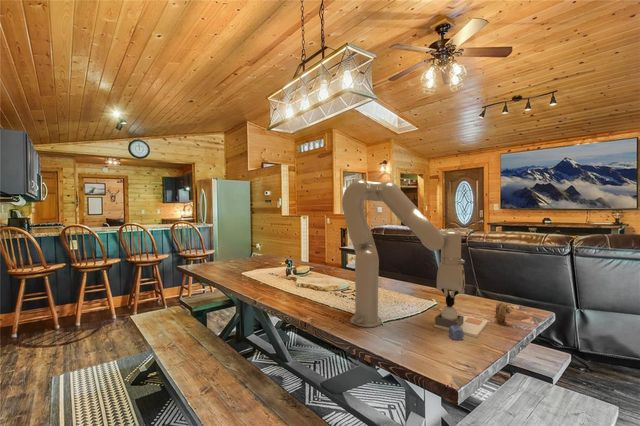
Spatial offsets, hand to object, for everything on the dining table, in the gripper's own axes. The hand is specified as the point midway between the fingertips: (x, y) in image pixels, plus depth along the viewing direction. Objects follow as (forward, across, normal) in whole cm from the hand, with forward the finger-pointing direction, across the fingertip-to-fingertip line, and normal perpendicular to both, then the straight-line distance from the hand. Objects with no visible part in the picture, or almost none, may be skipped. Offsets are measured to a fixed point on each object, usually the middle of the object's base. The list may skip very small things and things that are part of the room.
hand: (450, 305), depth 132 cm
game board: (+8, -3, -4) cm, 10 cm away
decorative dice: (+9, -5, +10) cm, 14 cm away
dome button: (+6, 0, 0) cm, 6 cm away
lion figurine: (+9, -15, -20) cm, 27 cm away
